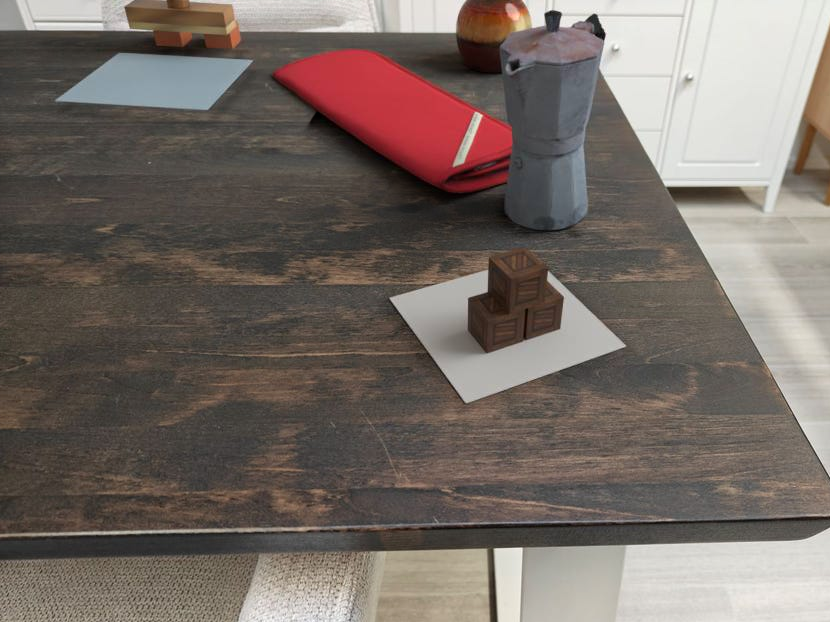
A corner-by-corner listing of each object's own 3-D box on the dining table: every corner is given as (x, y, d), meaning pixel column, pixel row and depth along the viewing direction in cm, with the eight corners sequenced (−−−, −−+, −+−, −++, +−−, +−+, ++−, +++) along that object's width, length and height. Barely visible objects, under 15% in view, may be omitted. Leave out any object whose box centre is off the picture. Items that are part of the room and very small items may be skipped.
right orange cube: (208, 55, 111) (202, 27, 108) (217, 46, 114) (211, 19, 111) (234, 57, 111) (229, 28, 108) (242, 47, 114) (237, 20, 111)
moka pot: (466, 224, 76) (467, 17, 63) (544, 168, 86) (559, -21, 72) (546, 254, 72) (566, 40, 59) (618, 192, 82) (649, -3, 68)
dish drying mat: (371, 63, 110) (369, 37, 108) (552, 169, 85) (554, 138, 83) (272, 85, 103) (268, 57, 100) (438, 208, 78) (437, 176, 76)
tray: (57, 109, 95) (53, 100, 94) (121, 60, 109) (119, 52, 108) (209, 119, 94) (207, 109, 93) (255, 68, 108) (253, 59, 107)
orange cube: (158, 53, 111) (151, 25, 109) (168, 44, 114) (162, 17, 112) (184, 54, 111) (178, 26, 108) (194, 45, 114) (188, 18, 112)
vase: (519, 81, 106) (526, -39, 96) (445, 72, 108) (444, -47, 98) (537, 56, 114) (545, -58, 104) (468, 47, 116) (469, -64, 106)
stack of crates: (533, 257, 72) (538, 192, 67) (626, 346, 62) (640, 278, 57) (388, 298, 66) (383, 231, 62) (466, 404, 56) (466, 333, 52)
